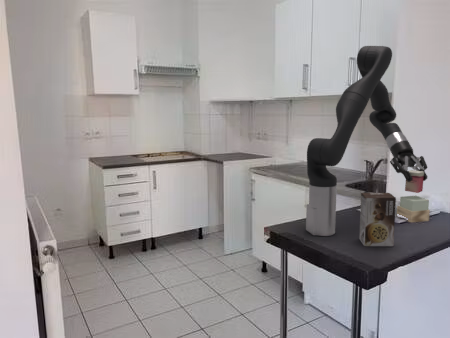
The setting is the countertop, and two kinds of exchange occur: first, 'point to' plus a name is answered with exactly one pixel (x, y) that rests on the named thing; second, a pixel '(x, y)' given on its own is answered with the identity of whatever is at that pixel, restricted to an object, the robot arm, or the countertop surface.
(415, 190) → the small box
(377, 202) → the cookie box
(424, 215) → the oak base block
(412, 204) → the sage top block
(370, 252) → the countertop surface
